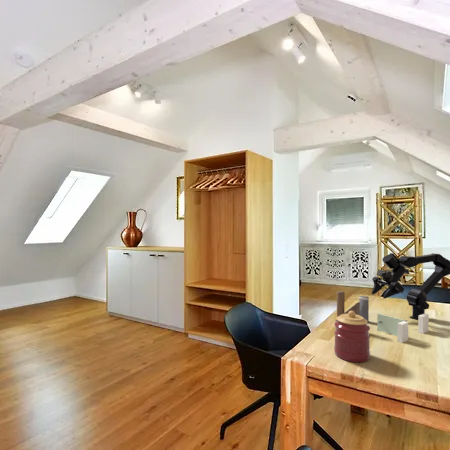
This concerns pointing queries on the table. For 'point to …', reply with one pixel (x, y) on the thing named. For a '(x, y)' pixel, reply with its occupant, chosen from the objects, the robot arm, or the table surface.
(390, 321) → the door
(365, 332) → the canister
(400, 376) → the table surface
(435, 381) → the table surface
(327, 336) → the table surface
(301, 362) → the table surface
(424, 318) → the wall frame
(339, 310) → the toy block tower
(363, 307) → the post
